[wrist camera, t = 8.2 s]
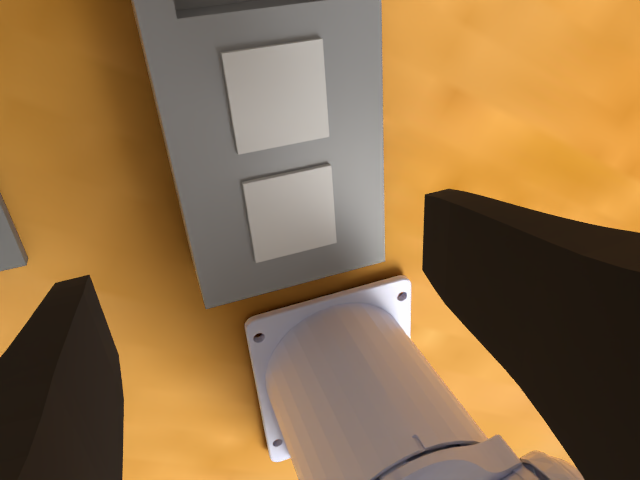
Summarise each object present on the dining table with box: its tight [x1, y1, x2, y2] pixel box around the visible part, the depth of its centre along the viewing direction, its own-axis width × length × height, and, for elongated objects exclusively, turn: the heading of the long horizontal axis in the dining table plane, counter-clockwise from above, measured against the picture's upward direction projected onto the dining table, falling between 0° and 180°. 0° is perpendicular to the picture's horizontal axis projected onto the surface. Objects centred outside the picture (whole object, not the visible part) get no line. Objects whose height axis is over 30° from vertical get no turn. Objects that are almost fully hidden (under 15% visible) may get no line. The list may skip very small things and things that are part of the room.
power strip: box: [131, 0, 385, 309], centre depth 16 cm, size 18×7×3 cm, turn 4°
